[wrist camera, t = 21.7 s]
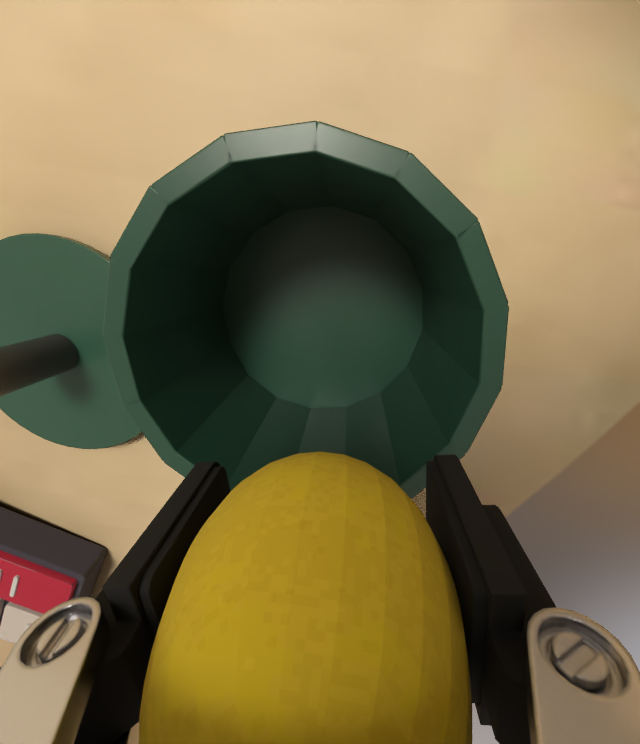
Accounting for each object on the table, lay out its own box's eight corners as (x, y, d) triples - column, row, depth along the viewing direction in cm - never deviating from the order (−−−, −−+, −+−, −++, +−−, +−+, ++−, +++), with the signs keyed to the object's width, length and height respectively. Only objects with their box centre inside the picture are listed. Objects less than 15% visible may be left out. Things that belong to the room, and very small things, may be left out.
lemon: (302, 364, 9) (83, 812, 2) (458, 467, 10) (786, 1137, 2) (213, 494, 11) (-83, 991, 4) (350, 575, 12) (341, 1151, 4)
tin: (196, 207, 21) (49, 157, 11) (435, 180, 19) (528, 90, 9) (234, 418, 25) (156, 523, 15) (432, 410, 23) (491, 521, 13)
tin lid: (-62, 246, 23) (-221, 241, 16) (147, 223, 21) (58, 206, 15) (19, 444, 27) (-82, 499, 21) (195, 438, 26) (144, 496, 19)
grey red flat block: (52, 663, 30) (-122, 603, 28) (85, 615, 34) (-65, 559, 33) (78, 586, 27) (-118, 512, 25) (113, 542, 31) (-54, 476, 29)
